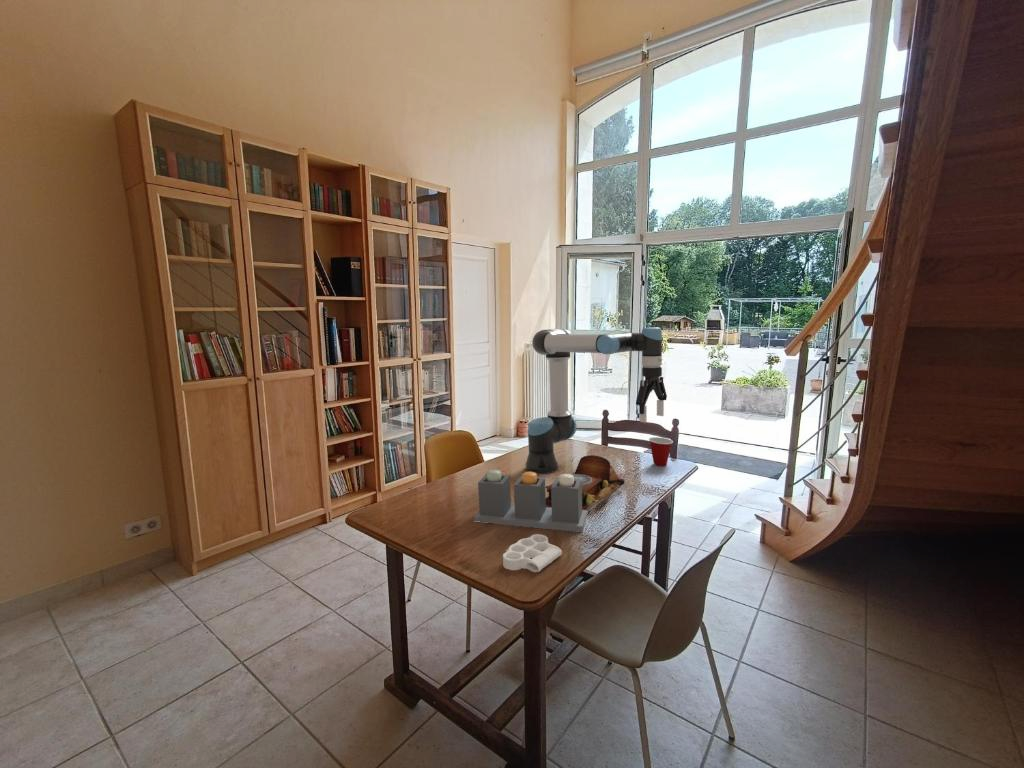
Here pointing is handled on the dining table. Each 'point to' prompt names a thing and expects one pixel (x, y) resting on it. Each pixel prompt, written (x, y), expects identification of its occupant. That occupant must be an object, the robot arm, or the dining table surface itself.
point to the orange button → (529, 478)
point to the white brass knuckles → (530, 554)
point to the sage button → (494, 476)
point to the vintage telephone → (593, 480)
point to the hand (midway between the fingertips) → (651, 418)
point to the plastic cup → (660, 450)
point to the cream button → (566, 480)
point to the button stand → (531, 504)
